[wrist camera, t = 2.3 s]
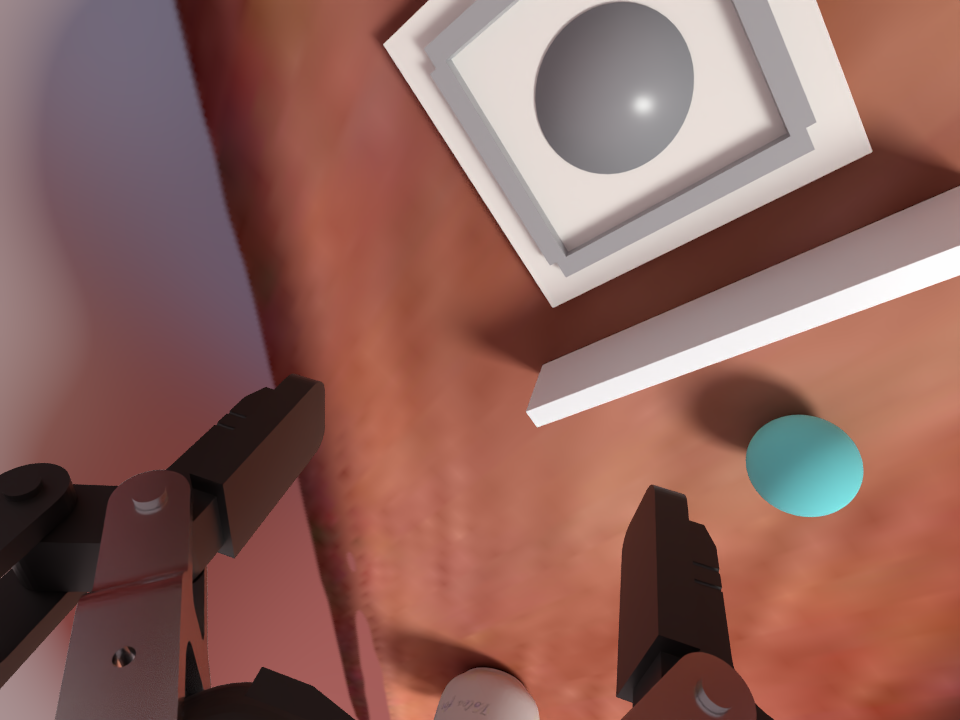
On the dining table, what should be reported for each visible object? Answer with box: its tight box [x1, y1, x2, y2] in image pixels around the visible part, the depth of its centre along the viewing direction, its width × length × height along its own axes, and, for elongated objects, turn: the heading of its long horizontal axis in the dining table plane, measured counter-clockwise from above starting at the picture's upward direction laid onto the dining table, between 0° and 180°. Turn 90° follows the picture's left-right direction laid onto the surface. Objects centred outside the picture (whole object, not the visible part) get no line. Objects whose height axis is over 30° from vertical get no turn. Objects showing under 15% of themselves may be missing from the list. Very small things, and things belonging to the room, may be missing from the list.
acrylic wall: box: [526, 186, 960, 427], centre depth 26 cm, size 22×1×5 cm, turn 125°
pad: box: [383, 0, 873, 308], centre depth 24 cm, size 16×16×2 cm
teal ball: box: [746, 415, 863, 517], centre depth 29 cm, size 6×6×6 cm
